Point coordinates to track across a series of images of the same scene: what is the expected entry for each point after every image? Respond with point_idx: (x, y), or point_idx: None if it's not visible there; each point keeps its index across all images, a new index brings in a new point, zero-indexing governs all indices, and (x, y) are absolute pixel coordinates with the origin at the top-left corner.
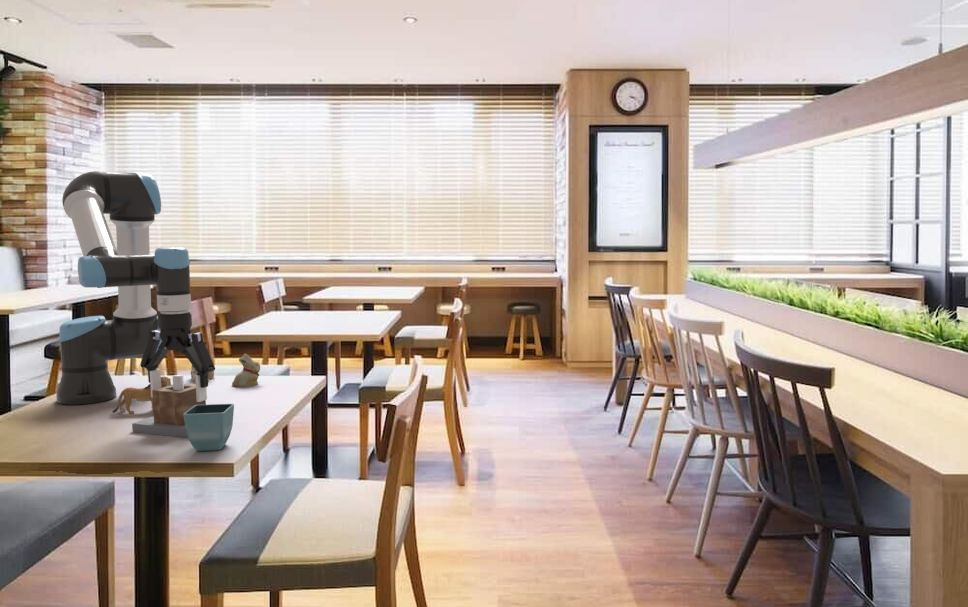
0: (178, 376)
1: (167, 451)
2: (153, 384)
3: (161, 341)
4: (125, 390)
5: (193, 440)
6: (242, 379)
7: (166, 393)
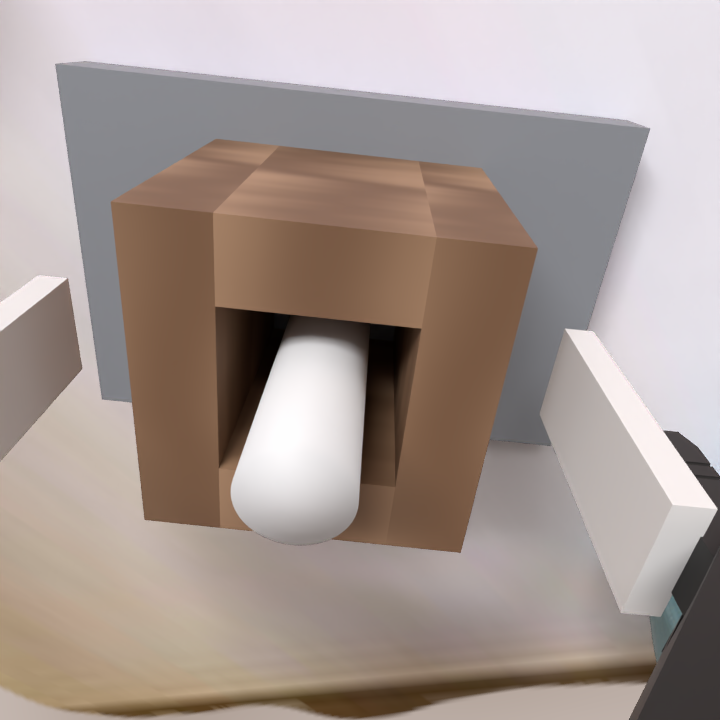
0: (331, 529)
1: (521, 581)
2: (19, 432)
3: None
4: None
5: None
6: None
7: None
